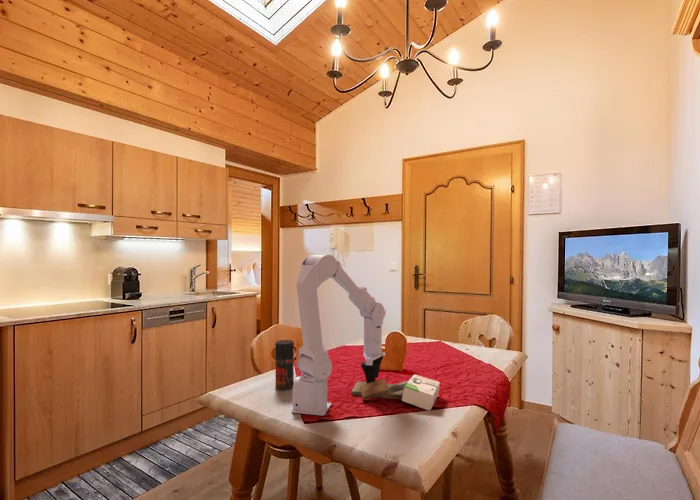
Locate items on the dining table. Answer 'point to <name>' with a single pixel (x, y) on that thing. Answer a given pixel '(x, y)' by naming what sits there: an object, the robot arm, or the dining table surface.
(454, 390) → the dining table surface
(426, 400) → the ink box
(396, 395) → the board
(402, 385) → the blocks
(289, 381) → the deodorant
